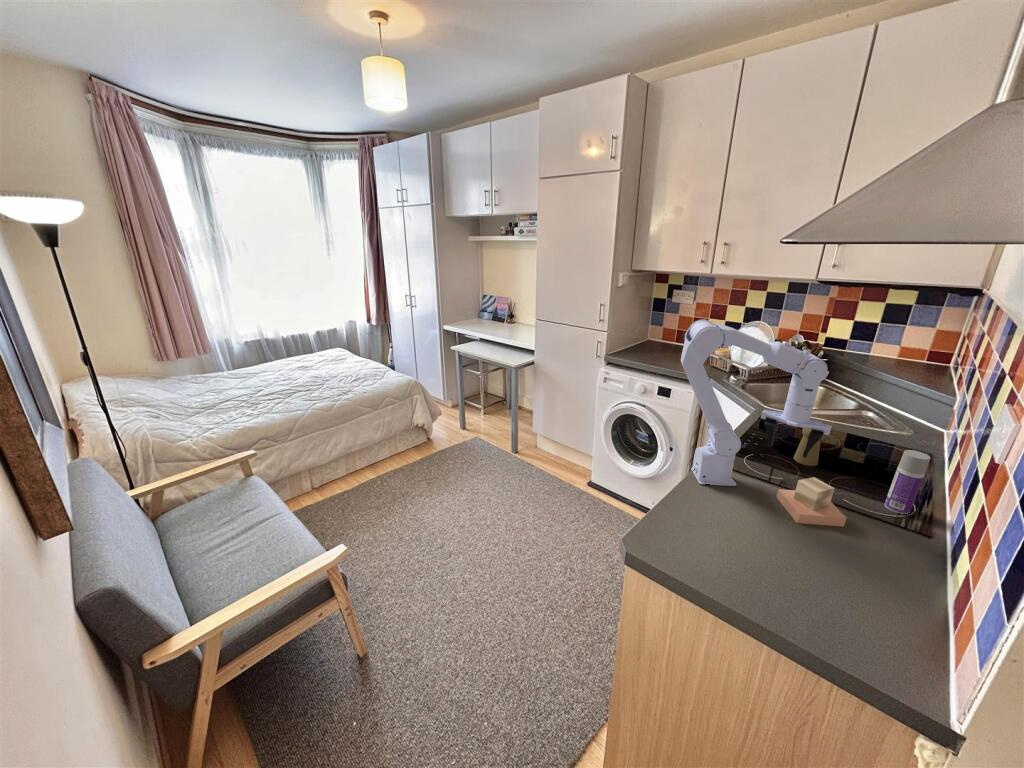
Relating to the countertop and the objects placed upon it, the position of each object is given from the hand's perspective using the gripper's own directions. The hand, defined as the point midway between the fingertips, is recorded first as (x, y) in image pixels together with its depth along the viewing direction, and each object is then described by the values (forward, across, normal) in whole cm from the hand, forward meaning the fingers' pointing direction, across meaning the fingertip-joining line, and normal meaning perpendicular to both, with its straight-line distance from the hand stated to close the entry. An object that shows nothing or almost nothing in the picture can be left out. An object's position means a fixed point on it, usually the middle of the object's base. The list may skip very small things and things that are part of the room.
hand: (787, 450), depth 106 cm
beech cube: (+8, +8, -8) cm, 14 cm away
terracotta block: (+11, +8, -8) cm, 16 cm away
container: (+10, +24, +8) cm, 27 cm away
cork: (+10, +3, +20) cm, 23 cm away
